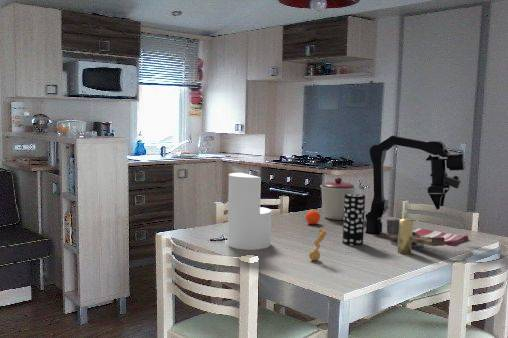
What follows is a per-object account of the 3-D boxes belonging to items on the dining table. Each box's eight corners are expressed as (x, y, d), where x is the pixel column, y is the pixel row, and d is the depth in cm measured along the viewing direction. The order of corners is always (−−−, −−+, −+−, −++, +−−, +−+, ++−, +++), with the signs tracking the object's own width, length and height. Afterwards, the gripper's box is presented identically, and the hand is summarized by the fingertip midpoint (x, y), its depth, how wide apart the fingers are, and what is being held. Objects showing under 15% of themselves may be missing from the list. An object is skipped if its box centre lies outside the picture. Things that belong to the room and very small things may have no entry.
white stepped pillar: (239, 251, 196) (240, 178, 193) (220, 241, 212) (221, 173, 209) (278, 247, 204) (280, 176, 201) (258, 237, 219) (259, 171, 217)
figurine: (313, 257, 191) (314, 225, 190) (329, 259, 188) (330, 227, 187) (304, 262, 184) (306, 229, 182) (320, 265, 181) (322, 231, 179)
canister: (315, 214, 273) (316, 175, 270) (348, 214, 275) (350, 175, 272) (323, 221, 255) (325, 179, 252) (359, 221, 257) (361, 179, 254)
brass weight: (397, 253, 199) (398, 220, 197) (398, 250, 203) (400, 217, 202) (410, 254, 197) (412, 221, 195) (411, 251, 201) (413, 218, 200)
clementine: (301, 224, 247) (302, 210, 246) (305, 222, 253) (306, 207, 253) (317, 226, 244) (318, 211, 243) (321, 223, 251) (322, 209, 250)
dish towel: (453, 247, 212) (453, 240, 212) (400, 237, 228) (400, 231, 228) (468, 240, 225) (469, 234, 224) (417, 231, 240) (418, 225, 240)
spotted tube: (364, 242, 216) (366, 194, 213) (361, 246, 208) (363, 197, 206) (344, 240, 218) (346, 193, 216) (340, 244, 210) (342, 195, 208)
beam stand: (390, 243, 213) (391, 231, 213) (411, 242, 217) (411, 230, 216) (403, 248, 206) (403, 235, 205) (423, 246, 209) (424, 234, 209)
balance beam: (387, 236, 220) (386, 219, 220) (396, 235, 222) (396, 219, 222) (433, 246, 193) (433, 227, 193) (444, 245, 195) (444, 226, 195)
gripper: (455, 172, 206) (457, 211, 206) (461, 168, 222) (463, 204, 223) (426, 173, 211) (428, 211, 212) (434, 169, 227) (436, 204, 228)
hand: (440, 207), depth 219 cm, fingers open, 9 cm apart
